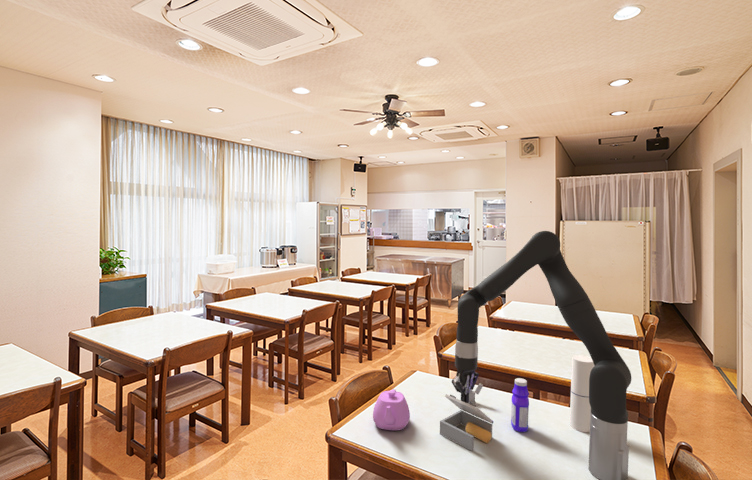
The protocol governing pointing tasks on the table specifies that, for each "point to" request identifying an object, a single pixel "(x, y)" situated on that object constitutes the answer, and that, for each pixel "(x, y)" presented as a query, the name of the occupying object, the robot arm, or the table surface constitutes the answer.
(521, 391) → the bottle
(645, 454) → the table surface
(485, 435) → the orange cylinder
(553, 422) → the table surface
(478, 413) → the cover
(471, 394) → the lighter
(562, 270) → the robot arm
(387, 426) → the teapot
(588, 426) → the cylindrical container
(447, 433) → the hinged gray case
